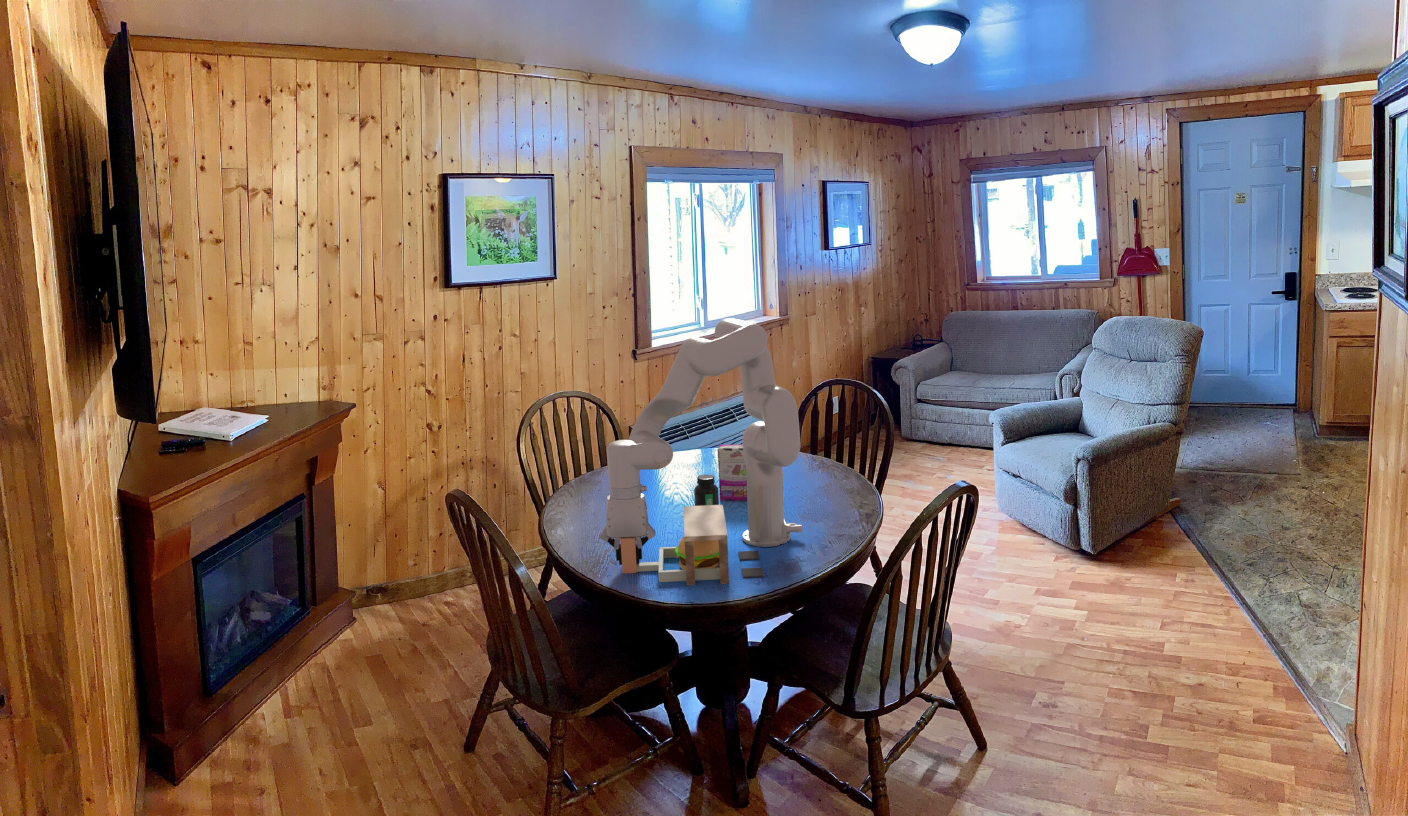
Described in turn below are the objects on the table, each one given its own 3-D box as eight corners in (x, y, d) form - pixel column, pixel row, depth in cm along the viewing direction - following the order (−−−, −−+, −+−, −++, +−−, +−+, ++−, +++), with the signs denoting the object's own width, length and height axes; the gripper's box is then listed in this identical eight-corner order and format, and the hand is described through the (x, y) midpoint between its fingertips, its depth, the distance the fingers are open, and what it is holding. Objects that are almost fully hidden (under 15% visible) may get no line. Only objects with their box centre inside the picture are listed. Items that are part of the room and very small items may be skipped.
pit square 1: (758, 552, 240) (758, 550, 240) (759, 559, 235) (759, 558, 235) (738, 552, 240) (738, 551, 240) (739, 560, 235) (739, 559, 235)
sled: (724, 553, 240) (723, 520, 238) (728, 578, 224) (726, 543, 222) (624, 558, 239) (622, 524, 237) (621, 583, 223) (618, 548, 221)
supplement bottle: (715, 522, 263) (713, 481, 260) (691, 520, 265) (690, 479, 262) (722, 514, 269) (720, 474, 266) (699, 512, 271) (698, 472, 268)
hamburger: (666, 565, 234) (665, 532, 232) (706, 553, 240) (705, 521, 238) (692, 580, 224) (691, 546, 222) (733, 568, 230) (732, 535, 228)
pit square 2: (761, 568, 229) (761, 567, 229) (763, 577, 224) (763, 575, 224) (741, 569, 229) (741, 568, 229) (742, 578, 224) (742, 576, 224)
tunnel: (724, 549, 242) (722, 504, 239) (729, 583, 221) (727, 534, 219) (685, 551, 242) (683, 506, 239) (686, 585, 221) (684, 536, 218)
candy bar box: (758, 496, 283) (756, 443, 279) (756, 501, 278) (755, 448, 275) (721, 495, 285) (719, 443, 281) (719, 501, 280) (717, 448, 276)
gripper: (659, 485, 230) (663, 555, 235) (592, 488, 230) (596, 558, 234) (659, 494, 223) (663, 566, 227) (589, 498, 223) (594, 570, 227)
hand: (629, 561), depth 231 cm, fingers closed on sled, 3 cm apart
